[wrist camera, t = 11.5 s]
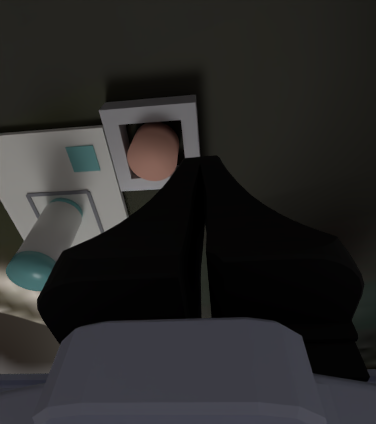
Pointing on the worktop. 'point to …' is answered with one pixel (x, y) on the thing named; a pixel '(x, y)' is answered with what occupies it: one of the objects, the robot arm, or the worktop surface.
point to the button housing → (144, 113)
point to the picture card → (60, 177)
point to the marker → (45, 244)
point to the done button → (153, 151)
